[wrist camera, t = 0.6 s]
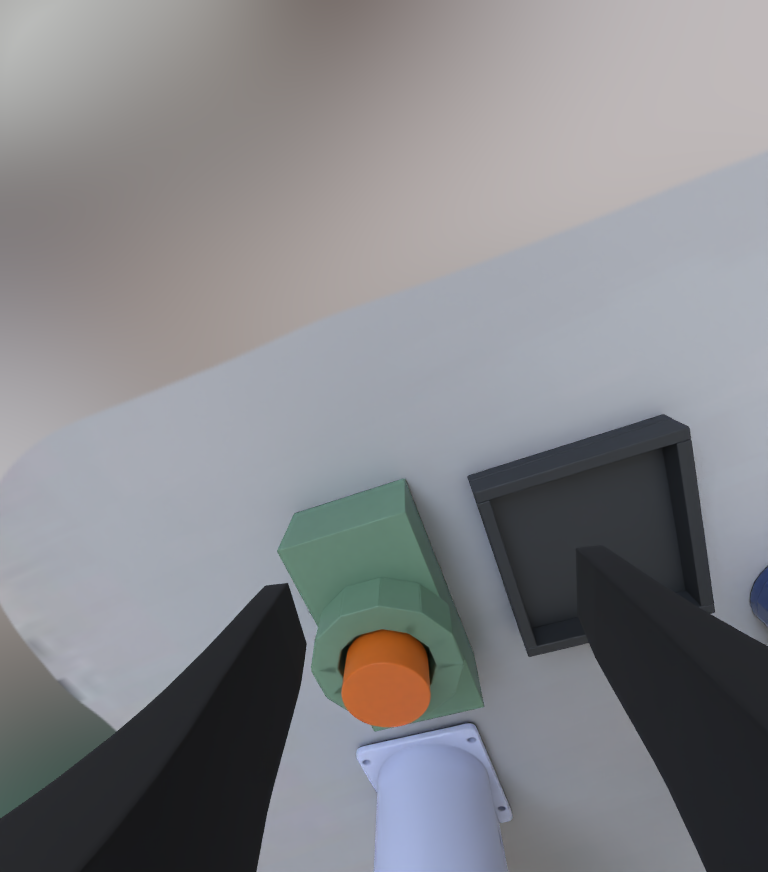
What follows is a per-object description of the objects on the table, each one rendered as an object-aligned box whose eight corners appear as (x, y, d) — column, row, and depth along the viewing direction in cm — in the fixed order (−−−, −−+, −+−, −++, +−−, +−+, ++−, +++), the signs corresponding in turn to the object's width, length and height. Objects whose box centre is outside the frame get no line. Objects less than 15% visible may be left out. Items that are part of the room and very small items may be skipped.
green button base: (478, 653, 24) (497, 743, 19) (373, 679, 25) (367, 770, 20) (409, 476, 20) (412, 534, 16) (289, 514, 21) (258, 579, 17)
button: (438, 678, 19) (442, 717, 17) (364, 696, 19) (361, 735, 17) (412, 619, 17) (413, 653, 16) (333, 639, 18) (327, 675, 16)
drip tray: (691, 587, 22) (715, 613, 20) (519, 630, 23) (528, 657, 22) (663, 413, 19) (690, 426, 17) (467, 475, 20) (473, 493, 18)
